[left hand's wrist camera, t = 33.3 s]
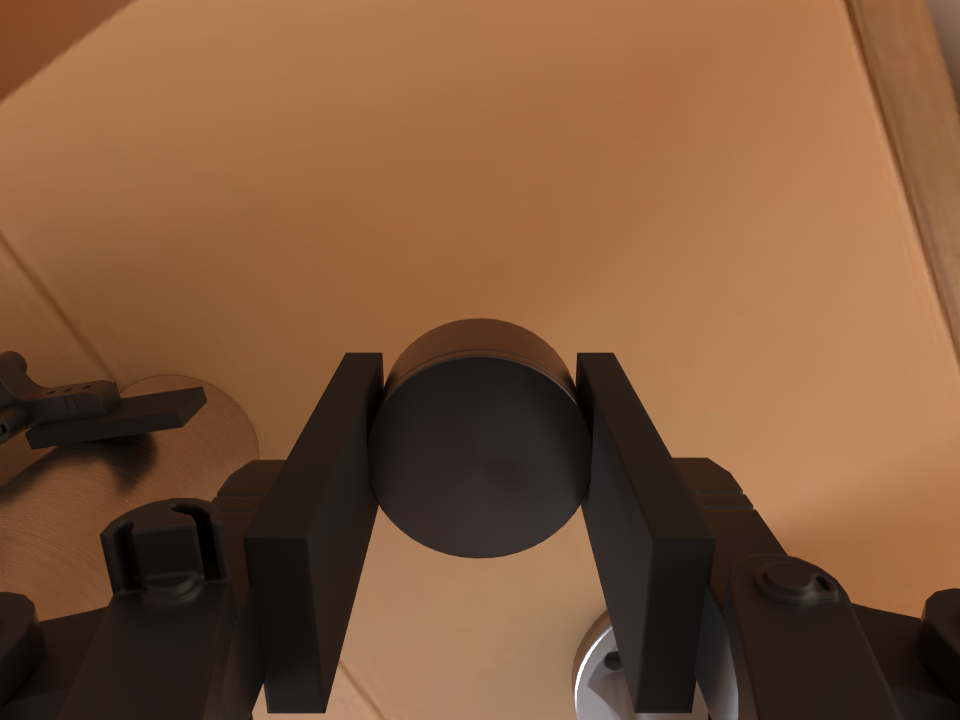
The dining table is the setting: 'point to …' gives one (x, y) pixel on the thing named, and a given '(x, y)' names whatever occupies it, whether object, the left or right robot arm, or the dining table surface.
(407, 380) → the cap
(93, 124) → the dining table surface
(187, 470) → the bottle
